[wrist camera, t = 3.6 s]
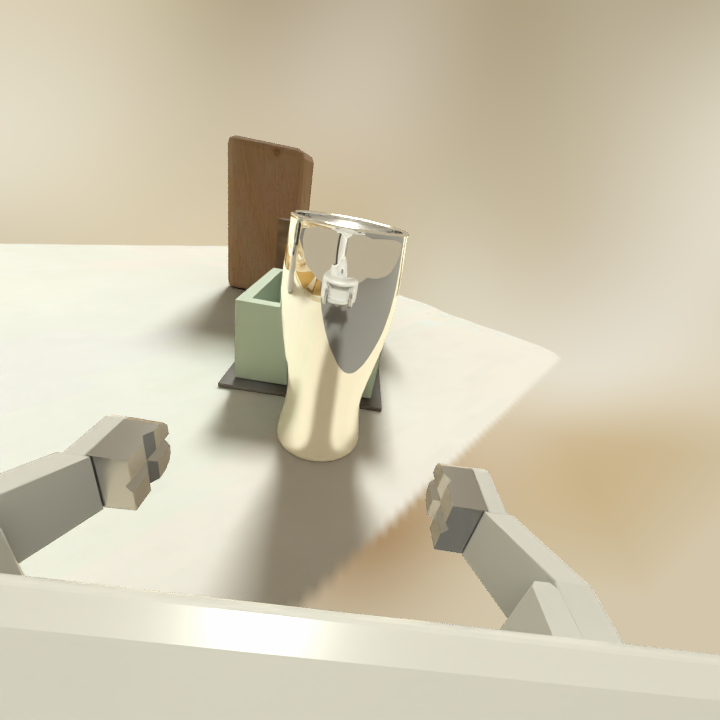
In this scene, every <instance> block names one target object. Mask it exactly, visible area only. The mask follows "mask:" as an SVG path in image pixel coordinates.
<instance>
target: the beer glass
mask: <svg viewBox="0 0 720 720" xmlns="http://www.w3.org/2000/svg"><path fill="white" fill-rule="evenodd" d="M408 236H409V234H408V233H407V232H406V231H404V230H401V229H398V228H395V227H392V226H388V225H384V224H380V223H376V222H372V221H368V220H363V219H358V218H353V217H348V216H343V215H336V214H330V213H324V212H318V211H309V210H292V211H291V212H290V224H289V230H288V236H287V242H286V249H285V255H284V262H283V271H282V280H281V296H280V318H281V333H282V343H283V352H284V360H285V369H286V396H285V402H284V406H283V409H282V412H281V415H280V418H279V421H278V425H277V435H278V439H279V441H280V443H281V444H282V446H283V447H284V448H285V449H286V450H287V451H289V452H290V453H292V454H293V455H295V456H297V457H299V458H302V459H305V460H310V461H317V462H325V461H332V460H336V459H339V458H342V457H344V456H346V455H347V454H349V453H350V452H351V451H352V450H353V449H354V447H355V446H356V444H357V441H358V436H359V408H360V402H361V398H362V395H363V392H364V389H365V387H366V384H367V382H368V379H369V377H370V375H371V373H372V370H373V368H374V366H375V364H376V361H377V359H378V357H379V354H380V352H381V350H382V347H383V345H384V342H385V340H386V337H387V334H388V331H389V329H390V326H391V322H392V318H393V315H394V311H395V307H396V303H397V298H398V293H399V288H400V282H401V276H402V270H403V263H404V257H405V250H406V244H407V239H408Z"/></svg>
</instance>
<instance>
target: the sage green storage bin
mask: <svg viewBox="0 0 720 720" xmlns="http://www.w3.org/2000/svg"><path fill="white" fill-rule="evenodd" d="M282 271H283V269H278V268H273V269H271V270H270V271H269V272H268V273H267V274H265V275H264V276H263V277H262V278H260V279H259V280H258V281H257V282H256V283H254V284H253V285H252V286H251V287H250V288H248V289H247V290H246V291H245V292H244V293H242V294H241V295H240V296H239V297H238V298H236V299H235V377H238V378H245V379H251V380H257V381H264V382H270V383H276V384H282V385H286V369H285V360H284V352H283V343H282V333H281V318H280V296H281V280H282ZM381 351H382V350H381ZM380 355H381V352H380V354H379V357H378V359H377V361H376V364H375V366H374V368H373V370H372V373H371V375H370V377H369V379H368V382H367V384H366V387H365V389H364V392H363V395H362V397H364V398H371V394H372V390H373V386H374V381H375V377H376V373H377V368H378V364H379V360H380Z"/></svg>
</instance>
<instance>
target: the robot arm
mask: <svg viewBox="0 0 720 720" xmlns="http://www.w3.org/2000/svg"><path fill="white" fill-rule="evenodd" d="M168 434H169V432H168V426H167V424H165V423H162V422H156V421H150V420H144V419H139V418H133V417H124V416H119V415H113V414H111V415H108V416H105V417H104V418H103V419H102V420H100V421H99V422H98V423H97V424H96V425H95V426H93V427H92V428H91V429H90V430H89V431H88V432H86V433H85V434H84V435H83V436H82V437H81V438H79V439H78V440H77V441H76V442H75V443H73V444H72V445H71V446H70V447H69V448H68V449H66V450H65V451H64V452H63V453H59V452H55V453H53V454H50V455H48V456H45V457H42V458H40V459H37V460H34V461H32V462H29V463H26V464H24V465H21V466H18V467H16V468H13V469H11V470H8V471H5V472H3V473H0V720H720V655H718V654H709V653H700V652H691V651H682V650H674V649H665V648H655V647H647V646H638V645H630V644H623V642H622V640H621V638H620V636H619V635H618V633H617V631H616V629H615V628H614V626H613V624H612V622H611V621H610V619H609V617H608V616H607V614H606V612H605V610H604V608H603V607H602V605H601V603H600V602H599V600H598V598H597V596H596V595H595V593H594V591H593V589H592V588H591V586H589V584H587V583H586V582H585V581H584V580H583V579H582V578H581V577H580V576H579V575H578V574H576V573H575V572H574V571H573V570H572V569H571V568H570V567H569V566H568V565H566V564H565V563H564V562H563V561H562V560H561V559H560V558H559V557H558V556H556V555H555V554H554V553H553V552H552V551H551V550H550V549H549V548H548V547H547V546H546V545H545V544H543V543H542V542H541V541H540V540H539V539H538V538H537V537H536V536H535V535H534V534H532V533H531V532H530V531H529V530H528V529H527V528H526V527H525V526H524V525H523V524H521V523H520V522H519V521H518V520H517V519H516V518H515V517H514V516H513V515H508V514H507V512H506V510H505V508H504V506H503V503H502V501H501V499H500V496H499V494H498V492H497V490H496V488H495V485H494V483H493V481H492V479H491V476H490V474H489V472H488V471H487V470H486V469H478V468H468V467H462V466H454V465H447V464H440V463H438V464H437V465H436V467H435V469H434V472H433V474H434V478H435V479H434V480H433V481H431V482H430V483H429V485H428V488H427V491H426V499H425V501H426V511H427V515H428V516H429V517H430V518H431V519H432V523H431V526H430V532H431V537H432V542H433V547H434V549H437V550H444V551H450V552H456V553H462V556H463V557H464V558H465V560H466V561H467V563H468V564H469V565H470V567H471V568H472V570H473V571H474V572H475V574H476V575H477V577H478V578H479V579H480V581H481V582H482V584H483V585H484V586H485V588H486V589H487V591H488V592H489V593H490V595H491V596H492V597H493V599H494V600H495V602H496V603H497V604H498V606H499V607H500V609H501V610H502V611H503V613H504V614H505V616H506V617H507V618H508V619H507V620H506V622H505V623H504V624H503V626H502V627H501V629H500V630H498V629H489V628H480V627H470V626H463V625H454V624H445V623H436V622H427V621H419V620H410V619H401V618H392V617H383V616H374V615H366V614H357V613H348V612H339V611H330V610H321V609H313V608H304V607H295V606H286V605H277V604H268V603H260V602H251V601H242V600H233V599H224V598H215V597H206V596H198V595H189V594H180V593H171V592H162V591H154V590H145V589H136V588H127V587H118V586H110V585H101V584H92V583H83V582H75V581H66V580H57V579H48V578H39V577H31V576H24V574H23V572H22V570H21V568H20V566H19V564H18V563H20V562H22V561H23V560H25V559H26V558H28V557H29V556H31V555H32V554H34V553H36V552H37V551H39V550H40V549H42V548H43V547H45V546H46V545H48V544H50V543H51V542H53V541H54V540H56V539H57V538H59V537H60V536H62V535H63V534H65V533H67V532H68V531H70V530H71V529H73V528H74V527H76V526H77V525H79V524H81V523H82V522H84V521H85V520H87V519H88V518H90V517H91V516H93V515H95V514H96V513H98V512H99V511H101V510H102V509H103V507H107V508H117V509H127V510H137V509H138V508H139V506H140V505H141V504H142V502H143V501H144V499H145V498H146V497H147V495H148V494H149V493H150V491H151V487H150V483H151V482H153V481H155V480H157V479H159V478H160V477H161V476H162V474H163V473H164V471H165V470H166V468H167V465H168V463H169V460H170V453H171V451H170V445H169V444H168V443H167V442H166V441H165V438H166V437H167V435H168Z"/></svg>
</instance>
